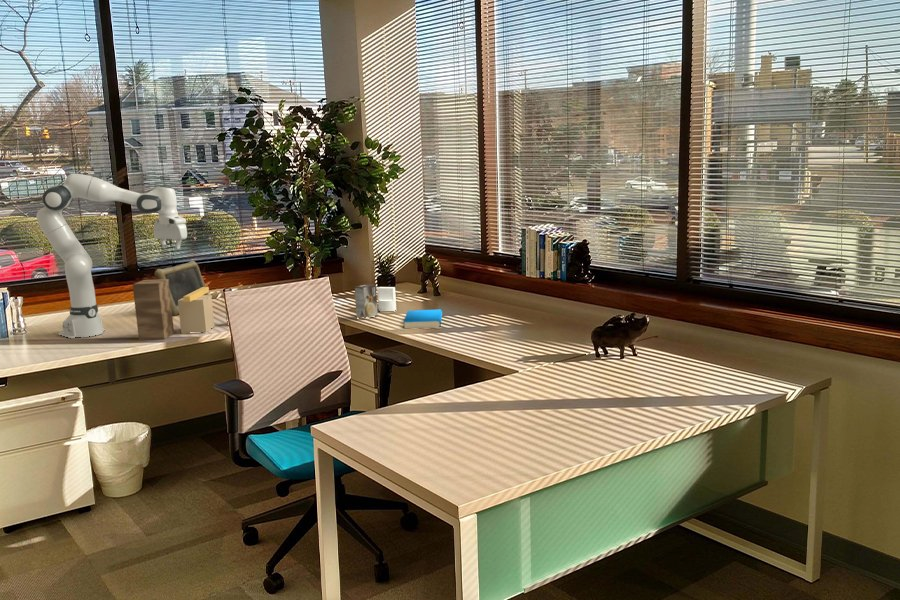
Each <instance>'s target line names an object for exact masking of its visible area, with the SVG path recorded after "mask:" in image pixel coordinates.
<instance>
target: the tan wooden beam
mask: <svg viewBox="0 0 900 600" xmlns="http://www.w3.org/2000/svg"><path fill="white" fill-rule="evenodd" d="M206 293H208V294H209V293H210V288H209V286H205V287H202V288H200V289H198V290H196V291H194V292H192V293H190V294H188V295H186V296H184V297H183V299H184V302H191V301H193V300H194V299H196V298H198V297H200V296H202V295H204V294H206Z"/></svg>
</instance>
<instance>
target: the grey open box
mask: <svg viewBox="0 0 900 600" xmlns="http://www.w3.org/2000/svg"><path fill="white" fill-rule="evenodd" d="M154 276H155V277H156V278H157V280H159V279H168V280H169V289H170V299H171V308H172V317H176V316H179V307H178V300H180V299H182V298H183V297H184V296H186V295H188V294H190V293H192V292H194V291H196V290H198V289H200V288H202V287H206V284H205V281H204V278H203V276H202V273H201V270H200V267H199V265H198V263H197V262H196V261H195V260H189V262H186V263H182V264H179V265H175V266H171V267H166V268H157V269H156V270H155V271H154ZM204 295H209V292H208V293H206V294H204Z"/></svg>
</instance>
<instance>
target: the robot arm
mask: <svg viewBox="0 0 900 600" xmlns="http://www.w3.org/2000/svg"><path fill="white" fill-rule="evenodd" d="M41 197H42V198H41V199H42V203H43V204H44V207H41V208H40V209H39V210H38V211H37V212H36V220H37V222H38V226H39V227H40V229H41V230H42V233H43V234H44V236H45V237H46V239H47V240H48V242H49V243H50V246H51V247H52V248H53V250H54V252H56V253H57V254H58V255H59V257H60V259H62V261H63V262H64V274H65V278H66V279H65V280H66V283H67V287H68V292H69V299H70V307H69V308H68V311H69V315H68V317H66V318H65V320H64V321H62V331H59V332H58V333H57V335H58V334H59V335H58V336H60V335H62V336H61V337H63V336H65V337H64V338H66V337H68V338H67V339H70V338H71V339H76V338H75V337H81V338H89V336H90V337H95V335H96V336H100V335H101V334H104V332H105V331H106V328H104V326H103V322H102V317H101V314H99V307H98V304H97V300H96V298H97V297H96V291H95V286H94V281H93V276H92V268H93V260H92V257H90V254H89V253H88V252H87V250H86V249H85V248H84V246H83V245H82V243H81V242H80V241H79V239H77V236H75V234H74V232H73V230H72V229H71V227H70V225H69V224H68V223H67V221H66V219H65V218H64V216H63V212H64V211H65V209H67V208H68V207H69V206H70V205H71V204H72V203H73V201H74V200H73V199H74V198H80V199H85V200H88V201H92V202H99V203H100V202H101V203H106V202H121V203H124V204H127V205H133V206H136V208H137V209H138V211H139V212H141V213H142V214H147V215H150V214H154V213H158V219H156V220H155V221H154V225H153V237H154V238H155V239H156V240H157V239H158V240H159V242H160V244H161V246H162V249H167V248H168V244H167V243H166V240H175V241H176V244H175V246H174V248H175V249H176V250H179V249H180V250H181V245H182V240H186V239H187V238H188V228H187V225H186V223H187V220H186V218H184V217H182V216H180V215H179V212H178V208H177V205H178V200H177V199H178V198H177V194H176V191H175V189H174V188H173V187H172V186H168V185H158V186H156V187H155V188H154V189H152V190H150V191H147V192H139V191H134V190H128V189H126V188H121V187H120V186H119V187H118V186H117V185H115V184H113V183H111V182H108V181H106V180H105V179H102V178H98V177H96V176H93V175H88V174H82V173H70V174H68V175H67V177H66V178H65V180H64V183H63V184H57V185H52V186H49V188H47V189H46V190H45V191H44V192H43V194H42V196H41ZM104 330H105V331H104ZM103 331H104V332H103Z"/></svg>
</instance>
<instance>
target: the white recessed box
mask: <svg viewBox="0 0 900 600" xmlns="http://www.w3.org/2000/svg"><path fill="white" fill-rule="evenodd" d="M396 294H397V293H396V286H378V287H377V305H378V312H379V311H394V312H396V311H397V298H396V297H397V296H396ZM395 310H396V311H395Z"/></svg>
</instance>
